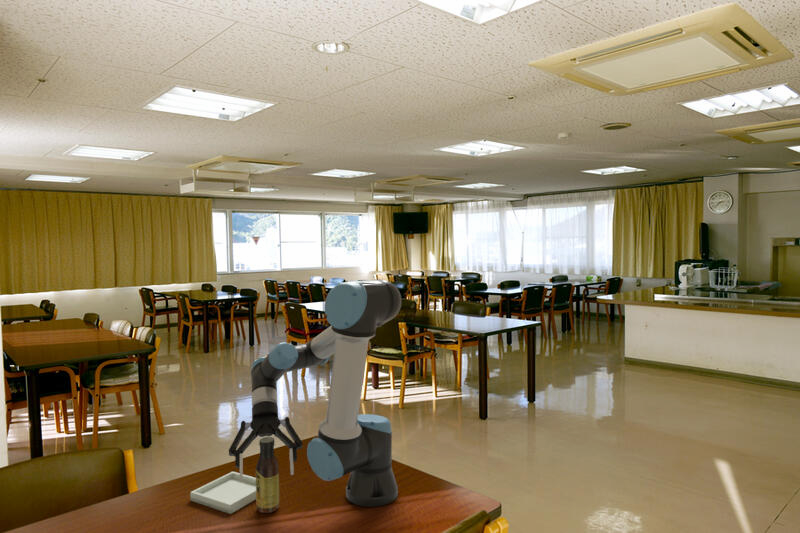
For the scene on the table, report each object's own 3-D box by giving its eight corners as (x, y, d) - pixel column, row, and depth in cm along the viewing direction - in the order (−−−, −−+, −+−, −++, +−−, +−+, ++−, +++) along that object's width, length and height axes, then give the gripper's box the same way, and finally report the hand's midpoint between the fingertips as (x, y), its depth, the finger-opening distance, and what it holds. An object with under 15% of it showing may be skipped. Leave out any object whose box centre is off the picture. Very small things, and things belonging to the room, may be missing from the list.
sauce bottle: (258, 504, 150) (257, 435, 150) (280, 502, 151) (279, 434, 150) (254, 515, 144) (253, 443, 143) (277, 514, 145) (276, 442, 144)
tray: (271, 490, 159) (271, 482, 159) (230, 514, 145) (230, 505, 145) (232, 479, 166) (232, 471, 166) (190, 500, 152) (190, 492, 152)
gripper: (305, 408, 165) (311, 475, 151) (221, 415, 159) (219, 486, 145) (307, 396, 160) (313, 464, 146) (220, 403, 153) (218, 475, 139)
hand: (267, 476), depth 145 cm, fingers open, 13 cm apart
